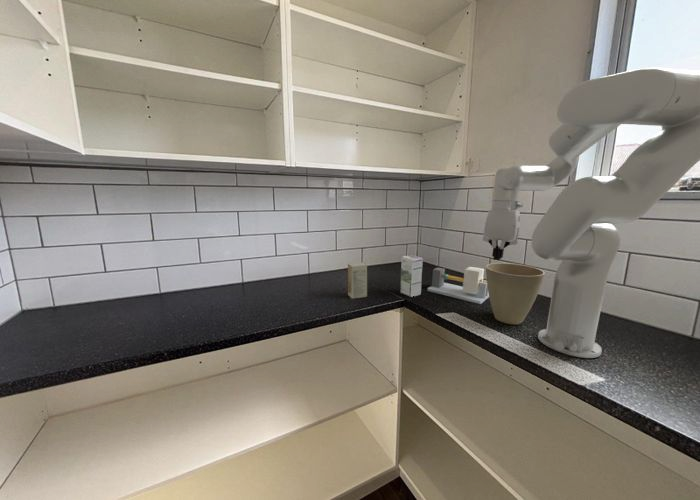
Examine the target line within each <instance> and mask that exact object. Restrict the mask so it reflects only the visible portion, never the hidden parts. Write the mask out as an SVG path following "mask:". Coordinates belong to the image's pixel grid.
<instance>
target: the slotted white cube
mask: <svg viewBox="0 0 700 500" xmlns="http://www.w3.org/2000/svg"><path fill="white" fill-rule="evenodd" d="M463 271H464V273H463V278H464V281H463V282H462V287H463V291H462V292H467V293H471V294H475V295H477V294H478V293H479V288H480V285H479V282H483V280H484V275H485V269H484V268H481V267H476V266H474V267H473V266H468V267H467V268H465V269H464V270H463Z"/></svg>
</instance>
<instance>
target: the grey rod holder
mask: <svg viewBox="0 0 700 500" xmlns="http://www.w3.org/2000/svg"><path fill="white" fill-rule="evenodd" d="M445 272H446V268H443V267H435V268H434V269H432V277H431V278H432V279H431V280H432V281H431V286H429V287H427V289H426V290H427V292H431V293H435V294H439V295H443V296H446V297H451V298H454V299H459V300H463V301H466V302H470V303H474V304H478V305H482V304H483V303H484V302H485V301H486V300H488V299H489V293H488V287H487V279H483V282H479V285H480V288H479V293H478V294H477V295H475V294H471V293H467V292H462V291H463V285H462V286H461V285H456V284H452V283H448V282H445V280H451V281H456V282H461V283H463V281H464V277H459V276H454V275H449V273H448V274H446V273H445Z"/></svg>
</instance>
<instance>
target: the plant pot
mask: <svg viewBox="0 0 700 500" xmlns="http://www.w3.org/2000/svg"><path fill="white" fill-rule="evenodd" d="M485 272H486V273H485V274H486V275H485V276H486V277H485V278H486V281H487V287H488V293H489V297H488V299H489V303H490V306H491V308H492V309H491V310H492V313H493V317H494V318H495V319H496V320H497V321H499V322H501V323H504V324H509V325H520V324H522V323H523V322H524V321H525V319H526V317H527V315H528V314H529V313H530V311H531V309H532V307H533V305H534V303H535V301H536V298H537V296H538V294H539V291H540V289H541V286H542V283H543V280H544V278H545V274H546V272H545V271H544V270H543V269H540V268H537V267H535V266H530V265H525V264H519V263H518V264H517V263H509V262H508V263H507V262H496V263H495V262H493V263H488V264H486V266H485Z"/></svg>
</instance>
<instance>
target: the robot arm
mask: <svg viewBox="0 0 700 500" xmlns="http://www.w3.org/2000/svg"><path fill="white" fill-rule="evenodd" d="M556 116H557V120H558V121H559V122H560V123H561V125H560V126H559V127H558V128H556V129H555V131H553V132H552V133H551V135H550V136H549V138H548V139H549V140H548V144H549V147H550V150H551V151H552V152H553V153H554V154H555V155H556V157H555V158H553V160H551V161H550V162H549V163H548V164H546V165H540V164H539V165H537V164H536V165H533V164H532V165H531V164H527V165H526V164H518V165H513V166H510V167H501V168H498V169H497V170H496V172H495V177H494V183H493V185H494V187H493V194H492V200H491V209H489V210H488V212H487V215H486V219H485V223H484V229H483V237H482V241H483V242H486V243H489V245H491V247H492V255H491V256H492V257H493V259H492V260H494V261H495V260H496V261H500V260H501V259H502V258H503V257H504V253H505V252H504V251H505V248H508V246H516V245H518V242H519V241H518V238H519V236H520V235H519V234H520V227H521V226H520V223H521V213H520V211H519V210H518V209H520V208H523V206H524V205H523V203H520V201H519V198H520V192H544V191H548V190H551V189H553V188H555V187H556V186H558V185H559V184H561V183H562V182H563V181H565V180H566V179H568V178H569V177H570V176H571V175H572V174H573V172H575V169H576V167H577V165H578V163H579V160H580V156H581V155H582V154H583V153H585V152H586V151H587V150H589V149H590V148H591V147H593V146H594V145H595V144H596V143H599V141H601V140H602V139H603V138H605V137H606V136H607V135H609V134H610V133H612V132H613V131H614V130H616V129H617V128H618V127H619V126H621V125H637V126H638V125H639V126H655V127H656V126H660V127H661V130H660V131H659V132H657V133H656V134H655V135H653V136H652V137H650V138H649V139H647V140H646V141H644V142H643V143H642V144H640V145H639V146H638V147H637V148H635V149H634V151H632V152H631V153H630V154H629V156H627V158H626V159H625V161H624V162H623V163H622V164H621V166H619V167H618V169H617V170H616V171H614V173H612V174H611V175H607V176H603V175H602V176H599V175H598V176H596V175H595V176H587V177H581V178H579V179H577V180H574V181H572V182H571V183H569V184H568V185H567V186H566V187H565V188H563V189H562V190H561V192H559V194H558V196H557V197H556V198H555V199H554V201H553V202H552V204H551V206H549V208H548V209H547V211H546V212H545V213H544V215H543V217H542V218H541V219H540V220H539V222H537V223H538V224H536V226H535V228H534V230H533V232H532V236H531V240H530V241H531V242H530V243H531V248H532V250H533V252H534V253H535V254H536V255H537V256H538V257H540V258H542V259H544V260H549V261H560V263H559V264H558V267H557V269H556V272H555V276H554V278H553V279H554V280H553V287H552V293H551V297H550V305H549V310H548V316H547V317H548V318H547V322H546V324H547V325H546V328H544V329H541V330H539V331H538V334H537V339H538V340H539V341H540V343H542V344H543V345H545V346H546V347H548V348H550V349H552V350H554V351H556V352H558V353H562V354H564V355H567V356H570V357H577V358H583V359H594V358H598V357H600V356H601V355H602V351H603V349H602V347H601V345H599V344H598V342H595V341H596V336H597V330H598V326H599V321H600V315H601V311H602V306H603V301H604V295H605V290H606V287H607V282H608V277H609V274H610V273H609V272H610V269H611V266H612V264H613V262H614V260H615V258H616V256H617V254H618V251H619V249H620V246H621V235H620V232H619V230H618V228H617V227H615V226H614V224H615V225H616V224H628V223H632V222H634V221H637V220H638V219H640V218H641V217H643V216H644V215H645V214H646V213H647V212H648V211H650V209H651V208H653V206H654V205H655V204H656V203H657V202H658V201H660V200H661V199H662V198H663V197H664V196H665V195H666V194H667V193H668V192H669V191H670V190H671V189H672V188H673V187H674V186H675V185H676V184H677V183H678V182H679V181H680V180H681V179H682V178H683V177H684V176H685V175H686V174H687V172H689V170H691V169H692V168H693V167H694V166H695V165H696V164H697V163H698V162H699V161H700V70H693V69H692V70H691V69H690V70H688V69H676V68H675V69H674V68H663V67H646V68H645V67H644V68H638V69H637V68H636V69H632V70H628V71H624V72H618V73H615V74H610V75H606V76H601V77H596V78H592V79H588V80H587V79H586V80H585V81H582V82H580V83H578V84H576V85H575V86H573V87H572V88H571V89H569V90H568V92H566V93H565V95H563V97H562V98H561V100H560V102H559V104H558V107H557V110H556ZM499 241H501V242H500V244H499Z"/></svg>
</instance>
